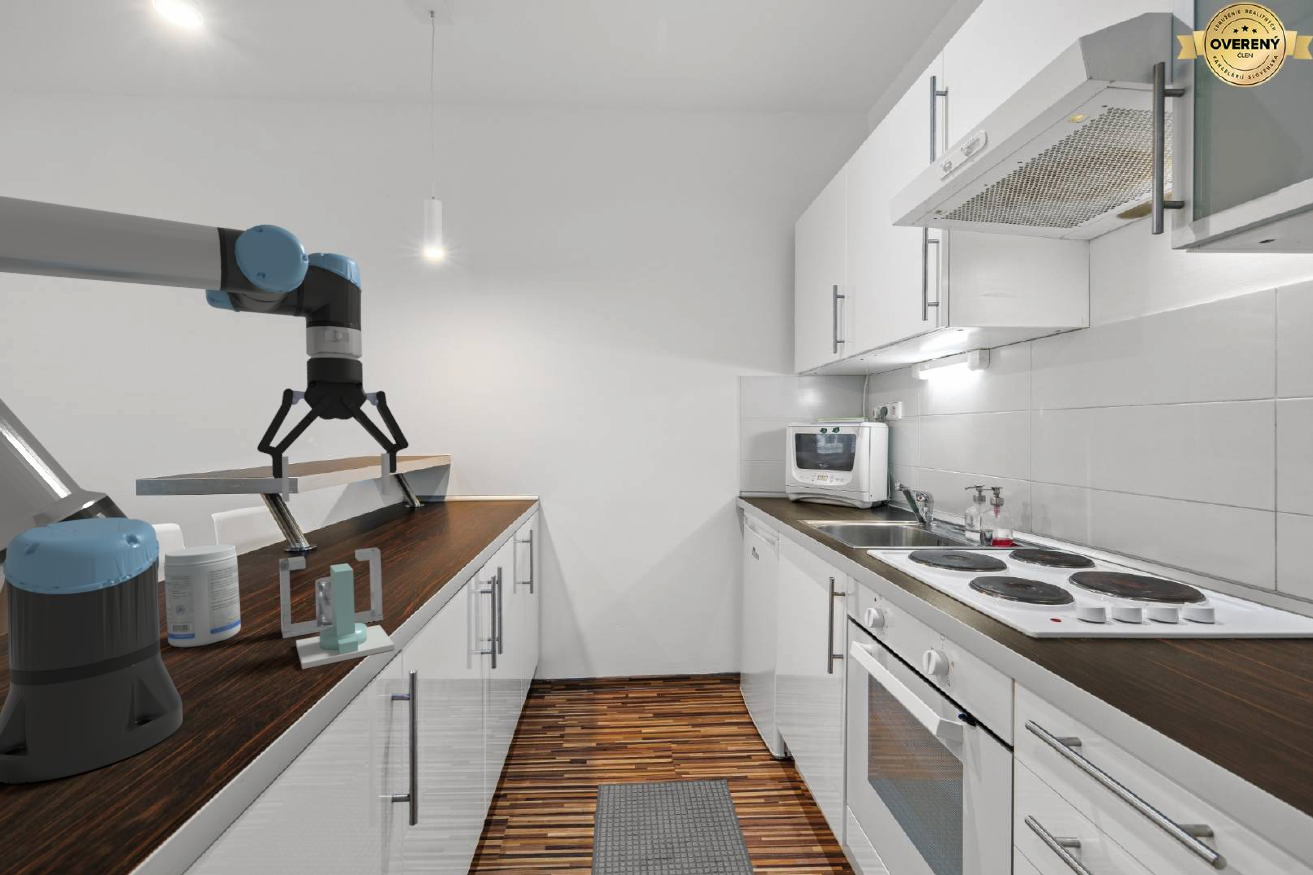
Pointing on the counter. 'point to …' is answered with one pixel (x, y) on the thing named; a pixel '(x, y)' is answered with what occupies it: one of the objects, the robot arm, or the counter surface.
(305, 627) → the grey open frame
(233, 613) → the supplement tub
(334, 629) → the mint inverted t-block
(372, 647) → the pad
